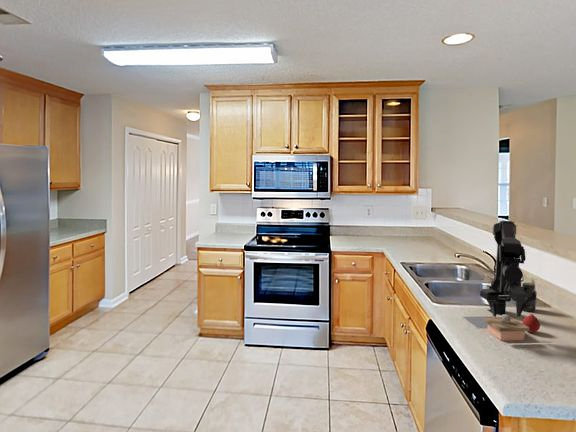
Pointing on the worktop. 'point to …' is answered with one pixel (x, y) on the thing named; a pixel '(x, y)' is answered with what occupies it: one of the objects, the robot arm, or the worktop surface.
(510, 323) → the walnut lid
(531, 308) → the supplement bottle
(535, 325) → the onion
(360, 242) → the worktop surface
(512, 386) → the worktop surface
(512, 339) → the terracotta dish
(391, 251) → the worktop surface
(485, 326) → the rubber mat
